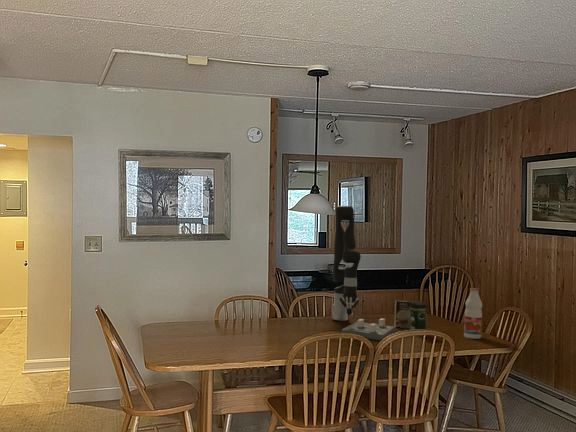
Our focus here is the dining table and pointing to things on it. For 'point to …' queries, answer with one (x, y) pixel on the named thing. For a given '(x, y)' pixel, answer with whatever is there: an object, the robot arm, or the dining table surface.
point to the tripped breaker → (360, 323)
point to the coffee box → (402, 313)
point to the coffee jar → (417, 315)
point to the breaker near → (372, 327)
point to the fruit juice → (473, 315)
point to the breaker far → (381, 322)
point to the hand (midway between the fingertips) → (349, 314)
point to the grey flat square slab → (364, 331)
